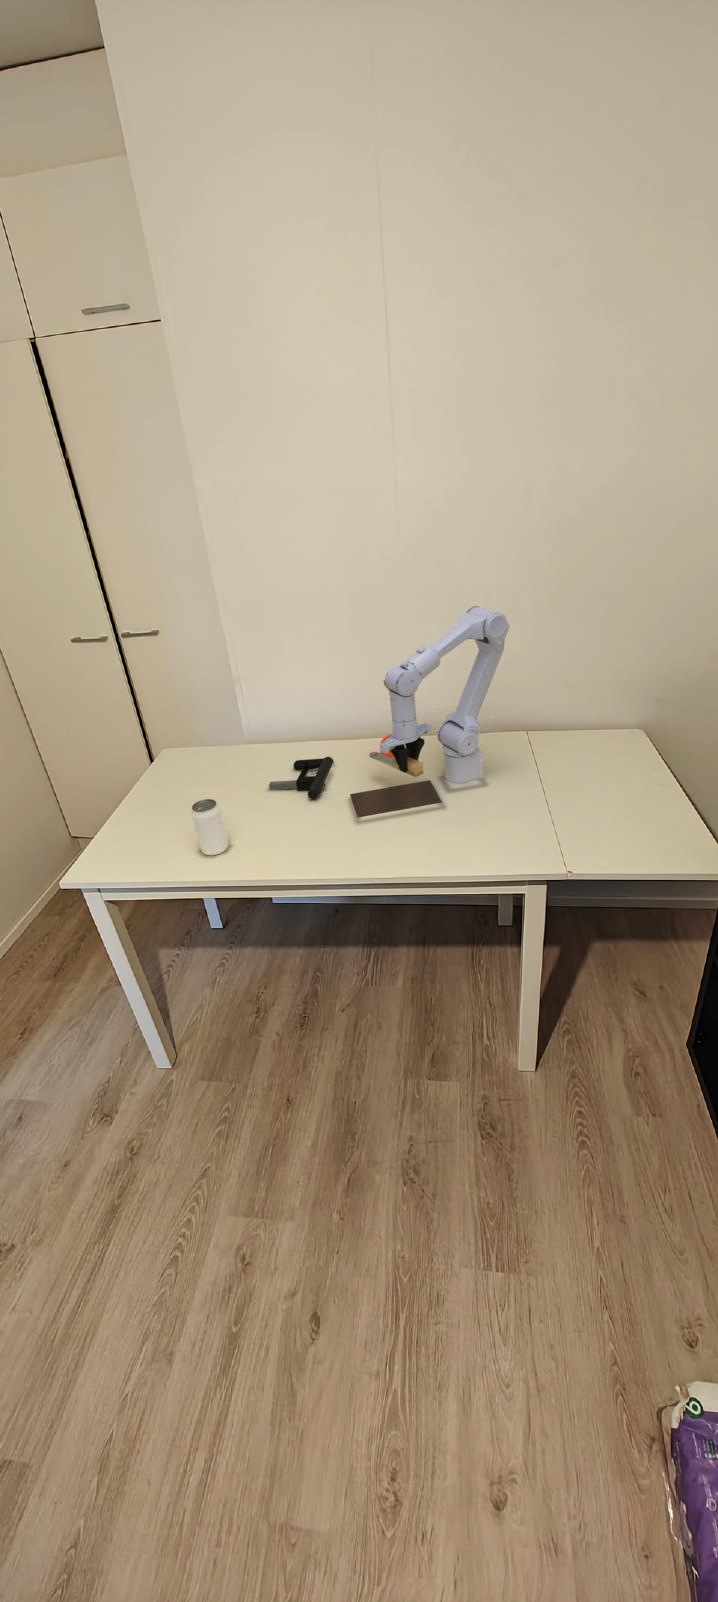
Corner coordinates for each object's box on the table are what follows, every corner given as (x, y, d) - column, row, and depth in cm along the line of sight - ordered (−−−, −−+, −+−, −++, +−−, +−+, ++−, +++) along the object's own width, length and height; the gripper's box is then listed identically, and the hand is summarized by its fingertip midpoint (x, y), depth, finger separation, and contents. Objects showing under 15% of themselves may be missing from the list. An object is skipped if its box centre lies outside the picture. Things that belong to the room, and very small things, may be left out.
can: (203, 843, 171) (191, 800, 165) (229, 839, 171) (219, 796, 165) (200, 858, 165) (188, 814, 159) (227, 854, 165) (216, 810, 159)
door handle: (261, 793, 184) (320, 789, 180) (282, 757, 201) (337, 754, 197) (264, 804, 186) (323, 800, 182) (285, 768, 203) (339, 764, 199)
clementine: (392, 749, 204) (389, 726, 200) (412, 753, 200) (410, 730, 196) (376, 760, 198) (373, 737, 195) (397, 765, 195) (394, 742, 191)
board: (430, 785, 183) (430, 779, 183) (442, 807, 173) (442, 802, 172) (350, 799, 181) (349, 794, 181) (358, 822, 171) (357, 817, 170)
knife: (423, 773, 171) (422, 762, 170) (415, 777, 170) (414, 766, 168) (374, 752, 184) (373, 741, 183) (366, 755, 183) (365, 745, 181)
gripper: (415, 703, 173) (418, 753, 180) (369, 723, 165) (375, 774, 172) (435, 710, 168) (438, 761, 175) (389, 731, 160) (394, 783, 167)
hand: (408, 768), depth 173 cm, fingers closed on knife, 2 cm apart
